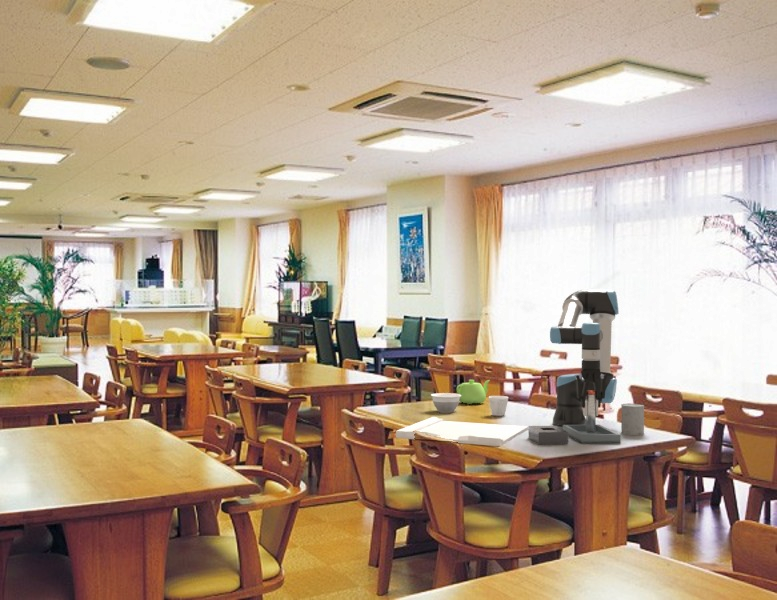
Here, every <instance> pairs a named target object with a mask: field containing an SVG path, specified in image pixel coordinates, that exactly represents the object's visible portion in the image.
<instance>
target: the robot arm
mask: <svg viewBox="0 0 777 600" xmlns="http://www.w3.org/2000/svg"><path fill="white" fill-rule="evenodd" d="M563 301H564V302H563V303H562V313H561V315H560V318H559V321H558V324H557V325H556V326H551V327H550V330H549V339H550V342H551V344H558V345H563V344H564V345H581V359H582V360H581V371H580V373H569V374H562V375H560V376H558V377H557V379H556V409H555V411H554V415H553V418H552V424H553V426H558V427H560V426H561V427H563V425H586V416H587V400H586V394H587V390H593V391H596V417H598V416H599V408H601V404H611V403H613V402H614V400H615V398H616V397H615V396H616V393H617V383H618V380H617V378H615V377H614V373H613V372H612V371H611V358H612V356H611V355H612V351H611V350H612V327H613V326H612V323H613V321H615V319H616V315H619V312H620V311H619V303H618V296H617V292H616V291H615V290H614V289H580V290H577V291H575V292H572V293H570V294H569V296H568V297H566V298H565V299H564V300H563ZM582 315H589V318H590V320H592V322H584V323H583V322H582V325H581V326H577V322H578V320H579V317H580V316H582Z"/></svg>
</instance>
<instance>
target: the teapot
mask: <svg viewBox="0 0 777 600" xmlns="http://www.w3.org/2000/svg"><path fill="white" fill-rule="evenodd" d="M490 381H491V379H487V380H485V381H484V383H483V385H482V383H480V382H475V379H468V382H462V383H460V384H459V385H457V386H456V394H460V395H461V397H460V398H459V403H462V402H463V403H462V404H467V405H468V404H471V405H473V404H477V403H481V404H482V403H484V402H485V401H486V399H487V398H486V397H487V393H488V385H489V383H490Z"/></svg>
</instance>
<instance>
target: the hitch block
mask: <svg viewBox="0 0 777 600" xmlns="http://www.w3.org/2000/svg"><path fill="white" fill-rule="evenodd" d="M528 439H530V440H531V441H532V442H533V443H535V444H537V445H538V446H550V445H551V446H554V445H555V446H557V445H558V446H560V445H569V436H568V432H567V431H565V430H564V429H563V427H560V426H559V425H528Z"/></svg>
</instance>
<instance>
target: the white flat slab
mask: <svg viewBox="0 0 777 600" xmlns="http://www.w3.org/2000/svg"><path fill="white" fill-rule="evenodd" d="M415 430H416V431H420V433H425V434H428V435H431V436H436V437H441V438H445V439H449V440H453V441H456V442H458V443H457V444H467V445H468V444H469V445H480V446H493V447H501V446H503V445H504V444H506V443H508V442H510V441H512V440H513V439H515V438H516V437H518V436H519V435H522V434H523V433H524V432H526V431H529V425H528V426H526V425H512V424H511V425H510V424H495V423H483V422H482V423H481V422H480V423H479V422H467V421H465V422H464V421H451V420H450V421H449V420H444V418H440V417H436V416H431V417H428V418H426V419H424V420H421V421H418V422H416V423H413V424H410V425H408V426H406V427H401V428H400V429H397V430H396V431H395V435H396V436H395V438H396V439H405V440H406V439H407V440H415V439H414V438H415V436H414V434H415V433H416V432H413V431H415Z"/></svg>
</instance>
